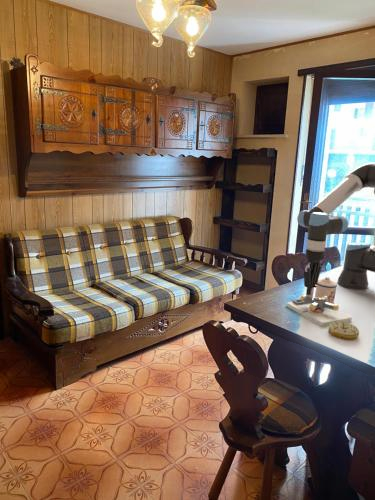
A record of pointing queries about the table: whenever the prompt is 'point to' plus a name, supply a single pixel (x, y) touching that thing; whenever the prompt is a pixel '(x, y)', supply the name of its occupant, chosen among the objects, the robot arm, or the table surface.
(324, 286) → the teacup with lid
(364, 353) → the table surface
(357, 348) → the table surface
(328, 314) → the level stand
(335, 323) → the olive yellow engraved disc
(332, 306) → the capstan
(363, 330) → the table surface
